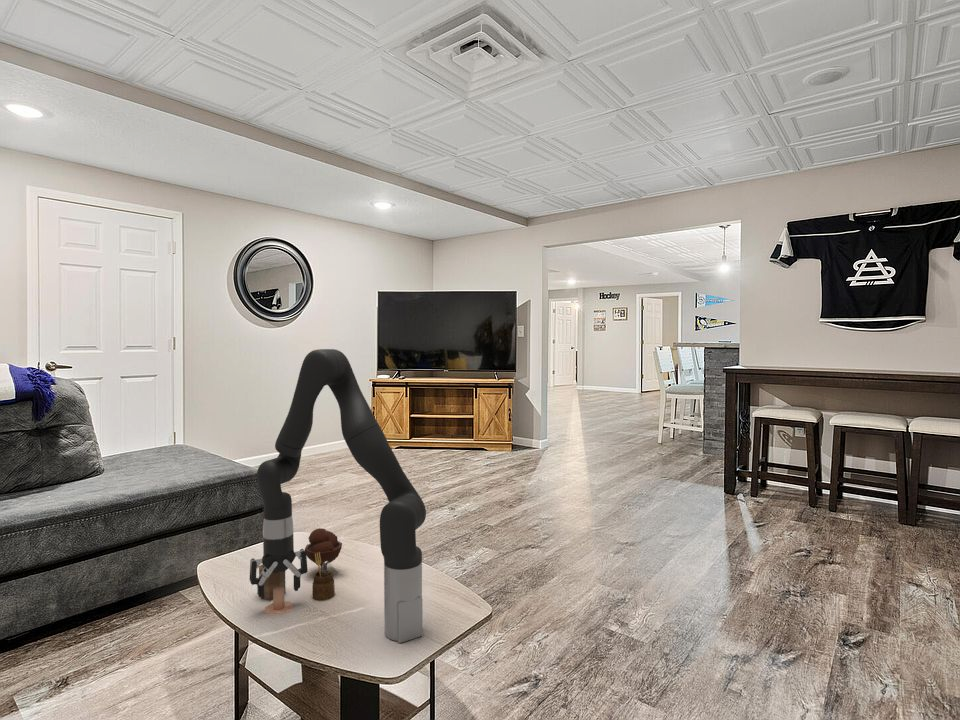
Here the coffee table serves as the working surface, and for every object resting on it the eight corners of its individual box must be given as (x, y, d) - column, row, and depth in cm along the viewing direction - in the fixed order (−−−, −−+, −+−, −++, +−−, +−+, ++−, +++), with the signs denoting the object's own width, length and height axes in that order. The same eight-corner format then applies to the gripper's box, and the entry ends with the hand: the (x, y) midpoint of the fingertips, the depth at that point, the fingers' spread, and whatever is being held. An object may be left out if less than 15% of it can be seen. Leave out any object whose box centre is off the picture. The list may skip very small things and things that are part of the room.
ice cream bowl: (332, 585, 157) (332, 535, 157) (298, 582, 159) (297, 532, 159) (348, 571, 168) (348, 523, 167) (315, 568, 170) (315, 521, 169)
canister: (287, 599, 149) (286, 567, 149) (262, 605, 146) (261, 572, 145) (282, 590, 154) (281, 559, 154) (258, 595, 151) (257, 564, 151)
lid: (296, 613, 141) (295, 591, 141) (267, 621, 137) (266, 597, 137) (290, 602, 147) (289, 580, 147) (262, 609, 144) (262, 587, 143)
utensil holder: (319, 605, 145) (319, 561, 145) (307, 598, 149) (307, 555, 149) (338, 598, 149) (338, 555, 149) (326, 591, 154) (326, 549, 153)
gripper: (251, 542, 135) (252, 606, 135) (309, 532, 142) (310, 592, 143) (247, 534, 141) (248, 595, 142) (302, 524, 149) (303, 582, 149)
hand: (279, 593), depth 142 cm, fingers open, 8 cm apart
